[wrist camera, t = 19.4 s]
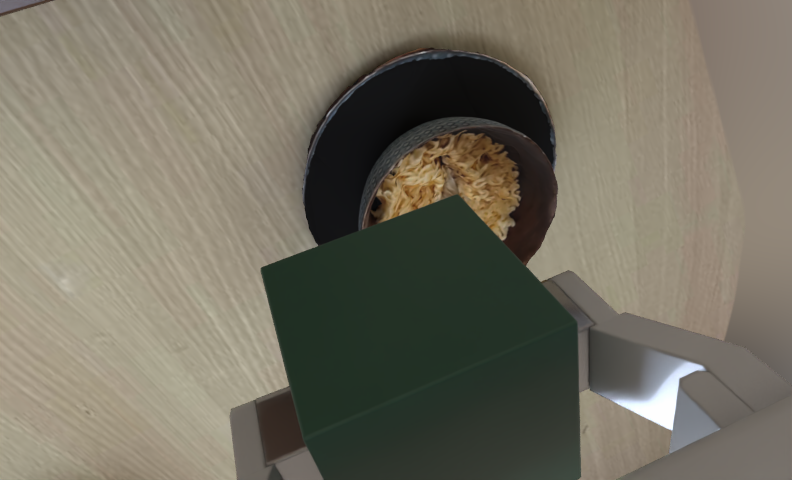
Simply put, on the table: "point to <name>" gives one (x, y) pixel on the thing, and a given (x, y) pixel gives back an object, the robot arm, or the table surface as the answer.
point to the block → (427, 354)
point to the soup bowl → (435, 148)
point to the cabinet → (18, 5)
